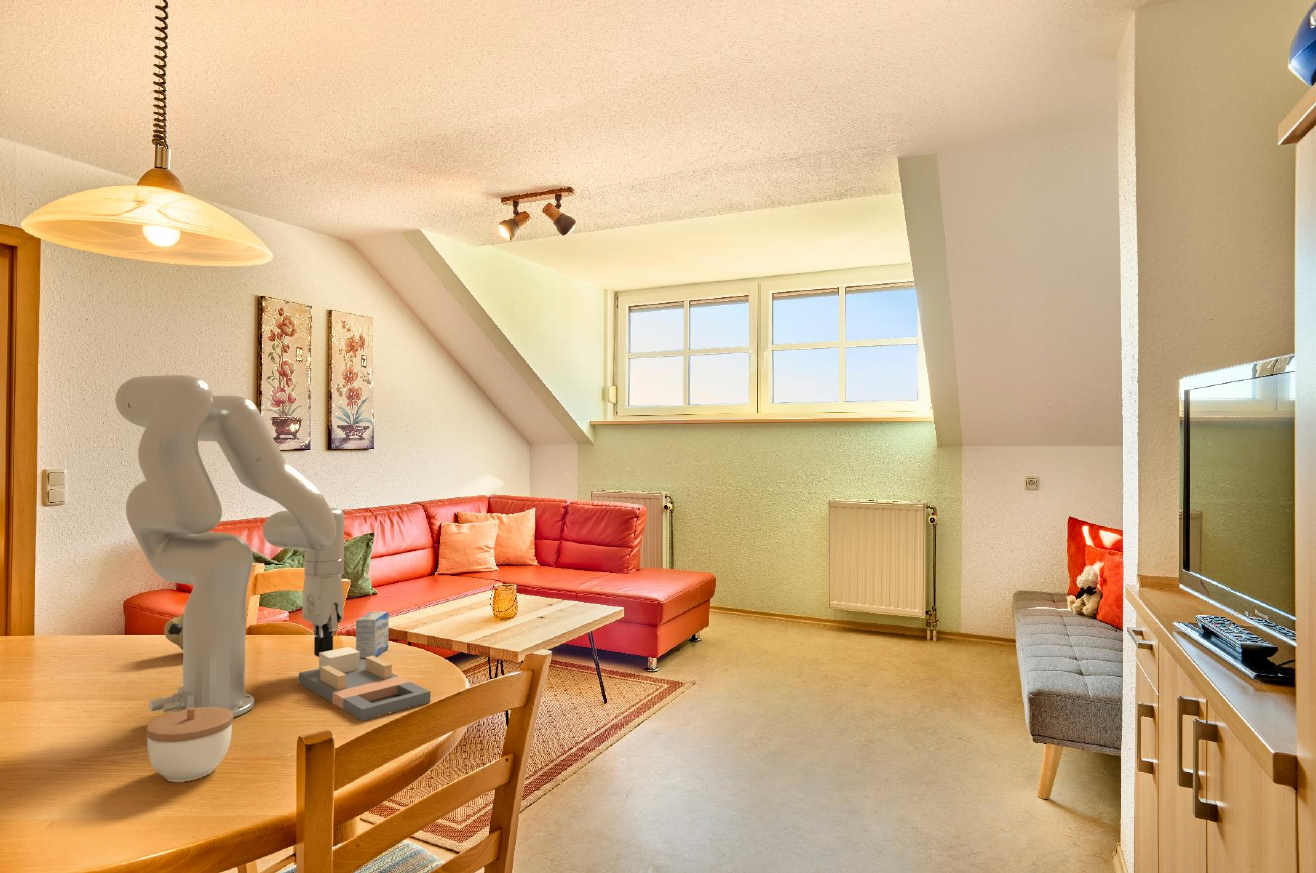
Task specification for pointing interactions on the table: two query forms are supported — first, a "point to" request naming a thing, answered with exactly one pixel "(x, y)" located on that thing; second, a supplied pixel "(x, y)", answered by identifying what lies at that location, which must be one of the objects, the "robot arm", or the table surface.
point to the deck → (365, 688)
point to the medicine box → (372, 634)
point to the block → (340, 659)
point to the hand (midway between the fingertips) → (323, 654)
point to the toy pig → (175, 630)
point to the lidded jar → (189, 742)
